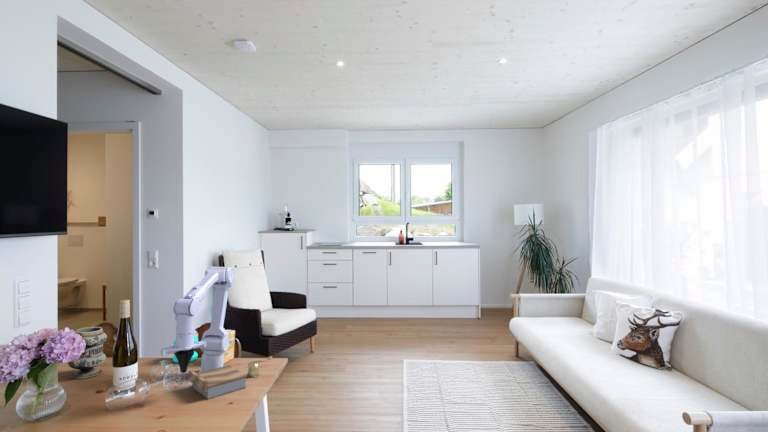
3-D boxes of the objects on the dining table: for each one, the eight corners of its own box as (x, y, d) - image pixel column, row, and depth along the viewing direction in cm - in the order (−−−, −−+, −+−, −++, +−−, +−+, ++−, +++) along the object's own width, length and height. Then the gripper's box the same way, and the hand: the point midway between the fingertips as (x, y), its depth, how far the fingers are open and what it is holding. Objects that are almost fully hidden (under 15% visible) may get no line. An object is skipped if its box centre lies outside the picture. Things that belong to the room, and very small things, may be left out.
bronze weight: (245, 375, 155) (245, 363, 155) (255, 372, 158) (255, 360, 158) (250, 378, 152) (251, 366, 152) (260, 375, 155) (261, 363, 155)
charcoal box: (192, 387, 142) (192, 376, 142) (228, 377, 153) (228, 367, 153) (207, 399, 133) (208, 388, 133) (245, 388, 143) (245, 377, 143)
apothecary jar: (101, 377, 149) (104, 331, 149) (62, 382, 144) (65, 334, 144) (108, 367, 160) (110, 324, 160) (72, 371, 154) (74, 326, 155)
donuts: (168, 340, 166) (182, 334, 176) (167, 363, 166) (181, 355, 176) (190, 341, 166) (202, 335, 175) (189, 364, 165) (202, 357, 175)
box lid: (188, 380, 142) (188, 371, 142) (229, 369, 153) (229, 361, 153) (204, 392, 132) (204, 382, 132) (246, 379, 143) (246, 370, 143)
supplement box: (223, 364, 166) (224, 334, 167) (213, 363, 167) (215, 333, 167) (234, 358, 174) (235, 330, 175) (225, 357, 175) (226, 329, 176)
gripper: (166, 339, 126) (164, 380, 125) (210, 331, 137) (208, 369, 136) (159, 334, 131) (157, 374, 130) (202, 327, 141) (201, 364, 141)
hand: (183, 371), depth 134 cm, fingers closed
